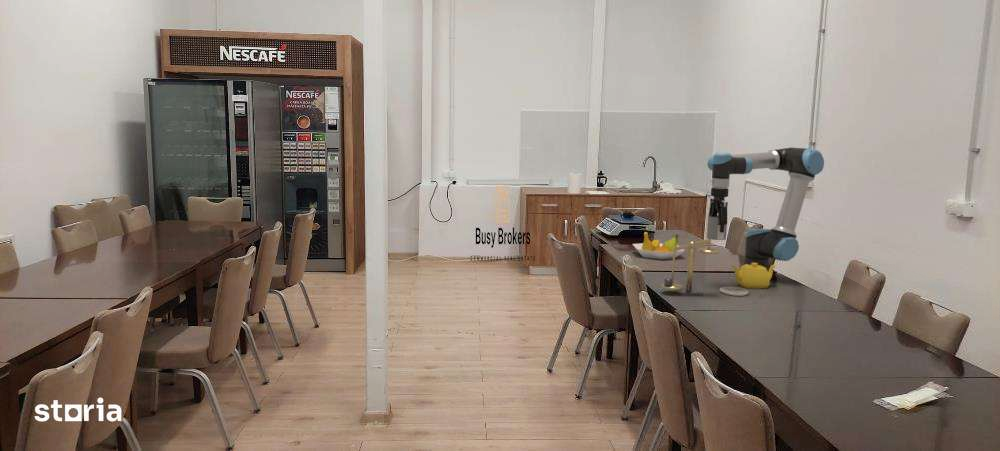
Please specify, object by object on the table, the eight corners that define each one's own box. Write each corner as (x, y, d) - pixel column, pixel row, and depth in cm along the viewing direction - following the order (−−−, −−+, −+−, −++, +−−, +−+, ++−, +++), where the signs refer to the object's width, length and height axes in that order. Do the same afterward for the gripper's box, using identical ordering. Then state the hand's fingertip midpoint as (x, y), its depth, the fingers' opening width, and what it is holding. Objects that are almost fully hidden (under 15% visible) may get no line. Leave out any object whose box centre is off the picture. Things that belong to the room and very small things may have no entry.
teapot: (765, 281, 337) (767, 259, 335) (782, 289, 322) (784, 266, 320) (721, 281, 335) (723, 258, 333) (735, 289, 320) (737, 265, 318)
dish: (740, 289, 319) (741, 287, 318) (752, 296, 307) (753, 293, 307) (715, 289, 317) (715, 286, 317) (726, 296, 306) (726, 293, 305)
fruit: (687, 262, 377) (689, 235, 375) (638, 260, 377) (640, 234, 375) (674, 251, 407) (676, 226, 404) (629, 250, 407) (630, 225, 405)
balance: (711, 290, 315) (715, 237, 311) (719, 296, 306) (723, 240, 302) (658, 290, 312) (661, 236, 308) (664, 295, 303) (668, 240, 300)
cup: (726, 240, 315) (728, 218, 314) (707, 239, 317) (709, 217, 315) (724, 237, 323) (726, 215, 322) (705, 236, 325) (707, 214, 323)
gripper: (702, 185, 326) (699, 233, 330) (721, 190, 306) (717, 241, 309) (718, 185, 327) (715, 233, 331) (738, 190, 306) (734, 241, 310)
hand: (716, 237), depth 320 cm, fingers closed on cup, 8 cm apart
